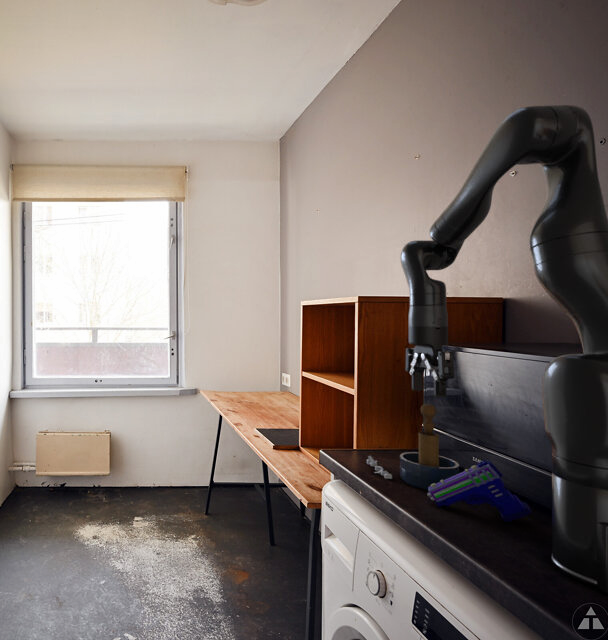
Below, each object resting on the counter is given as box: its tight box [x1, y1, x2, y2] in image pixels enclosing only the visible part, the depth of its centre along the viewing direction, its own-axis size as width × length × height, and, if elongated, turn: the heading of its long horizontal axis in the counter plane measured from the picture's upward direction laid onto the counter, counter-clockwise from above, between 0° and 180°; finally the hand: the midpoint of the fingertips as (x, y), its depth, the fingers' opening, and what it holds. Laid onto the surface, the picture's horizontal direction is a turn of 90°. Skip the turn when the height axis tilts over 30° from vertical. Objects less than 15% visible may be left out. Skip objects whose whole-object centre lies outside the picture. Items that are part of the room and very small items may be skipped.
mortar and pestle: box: [417, 403, 440, 467], centre depth 97 cm, size 7×6×18 cm
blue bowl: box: [399, 451, 460, 491], centre depth 97 cm, size 11×11×6 cm
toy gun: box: [427, 459, 532, 523], centre depth 82 cm, size 4×13×10 cm
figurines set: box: [366, 454, 393, 480], centre depth 105 cm, size 12×3×3 cm, turn 170°
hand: (428, 393), depth 97 cm, fingers open, 8 cm apart
